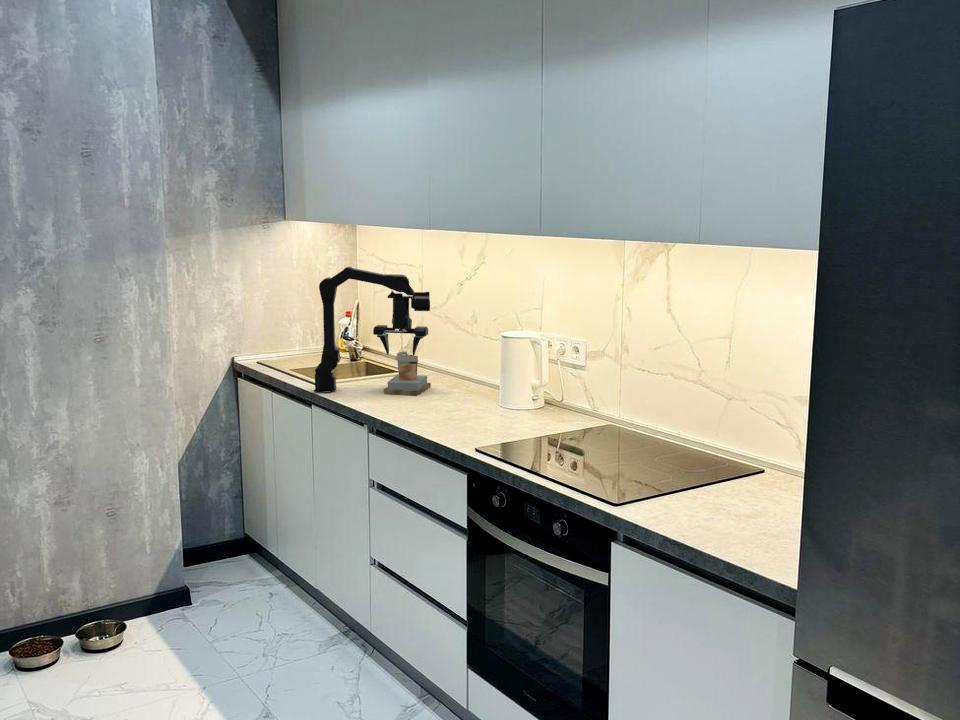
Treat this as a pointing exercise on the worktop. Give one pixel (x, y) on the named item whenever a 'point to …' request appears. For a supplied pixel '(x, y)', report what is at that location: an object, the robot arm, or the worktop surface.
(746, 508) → the worktop surface
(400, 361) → the food container
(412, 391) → the walnut slab
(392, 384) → the slate grey slab
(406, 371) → the terracotta block
